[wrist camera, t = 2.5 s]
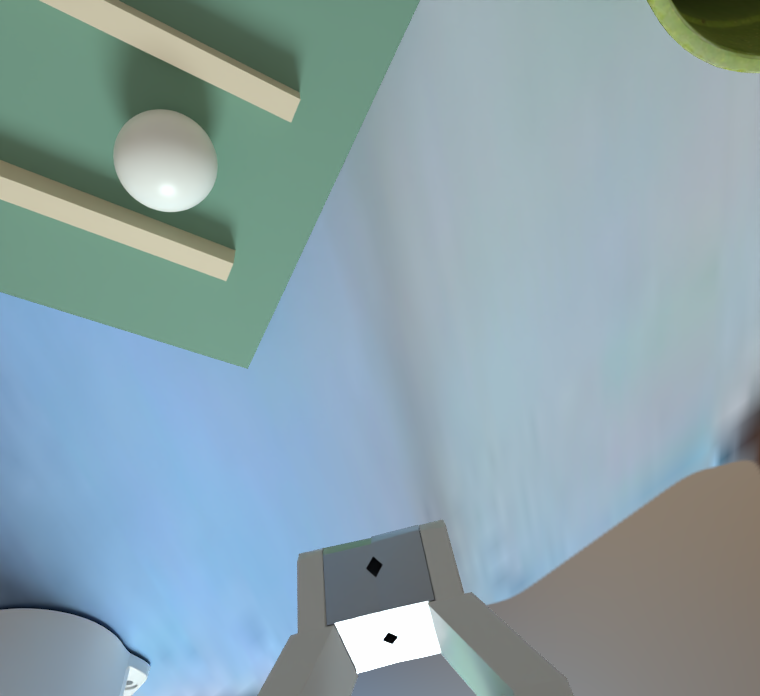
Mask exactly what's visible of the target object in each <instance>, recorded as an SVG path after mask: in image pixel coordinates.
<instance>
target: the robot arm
mask: <svg viewBox="0 0 760 696" xmlns="http://www.w3.org/2000/svg"><path fill="white" fill-rule="evenodd" d="M419 529H420V530H419ZM297 600H298V633H297V634H294V635H291V636H290V637H289V639H288V641H287V643H286V645H285V646H284V648H283V650H282V652H281V654H280V655H279V657H278V659H277V661H276V663H275V665H274V666H273V668H272V670H271V672H270V674H269V675H268V677H267V679H266V681H265V683H264V685H263V686H262V688H261V690H260V692H259V694H258V695H257V696H351V694H352V691H353V688H354V685H355V683H356V680H357V678H358V675H357V673H359V672H363V671H367V670H371V669H374V668H378V667H382V666H385V665H389V664H393V663H397V662H400V661H406V660H410V659H415V658H420V657H425V656H429V655H434V654H439V653H442V656H443V657H444V658H445V659H446V660H447V661H448V663H449V664H450V665H451V666H452V667H453V668H454V670H455V671H456V672H457V673H458V674H459V675H460V676H461V678H462V679H463V680H464V681H465V682H466V683H467V685H468V686H469V687H470V688H471V689H472V690H473V692H474V693H475V694H476V695H477V696H574V695H573V693H572V690H571V687H570V685H569V682H568V680H567V678H566V677H565V676H564V675H563V674H561V673H560V672H559V671H558V670H557V669H556V668H555V667H554V666H553V665H552V664H551V663H549V662H548V661H547V660H546V659H545V658H544V657H543V656H541V654H539V653H538V652H537V651H536V650H535V649H534V648H533V647H532V646H531V645H529V644H528V643H527V642H526V641H525V640H524V639H523V638H522V637H521V636H520V635H518V634H517V633H516V632H515V631H514V630H513V629H512V628H511V627H510V626H508V625H507V624H506V623H505V622H504V621H503V620H502V619H501V618H500V617H499V616H497V615H496V614H495V613H494V612H493V611H492V610H491V609H490V608H489V607H487V606H486V605H485V604H484V603H483V602H482V601H481V600H480V599H479V598H478V597H476V596H475V595H474V594H473V593H472V592H470V593H465V594H464V591H463V587H462V583H461V580H460V576H459V573H458V569H457V565H456V562H455V558H454V554H453V551H452V547H451V543H450V540H449V536H448V532H447V529H446V525H445V523H444V520H443V519H442V520H438V521H434V522H430V523H427V524H423V525H419V526H418V525H415V526H411V527H408V528H404V529H400V530H396V531H392V532H388V533H384V534H380V535H376V536H373V537H371V538H368V539H363V540H359V541H354V542H350V543H345V544H340V545H336V546H331V547H327V548H322V549H317V550H313V551H309V552H305V553H301V554H299V557H298V561H297ZM149 671H150V665H149V664H148V663H147V662H145V661H144V660H142V659H140V658H139V657H137V656H135V655H133V654H131V653H130V652H128V651H127V650H126V648H125V647H124V646H123V644H122V643H121V641H120V640H119V639H118V638H117V637H116V636H115V635H114V634H113V633H112V632H110V631H109V630H108V629H106V628H104V627H103V626H101V625H99V624H97V623H95V622H93V621H91V620H88V619H85V618H83V617H80V616H76V615H73V614H69V613H64V612H59V611H53V610H45V609H30V608H18V609H3V610H0V696H131V695H132V694H133V693H134V692H135V691H136V690H137V689H138V688H139V687H140V686H141V685H142V684H143V683H144V682H145V681H146V680H147V677H148V674H149Z"/></svg>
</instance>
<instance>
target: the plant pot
mask: <svg viewBox="0 0 760 696" xmlns="http://www.w3.org/2000/svg"><path fill="white" fill-rule="evenodd" d="M647 2H648V3H649V5H650V7H651V9H652V10H653V12H654V14H655V15H656V17H657V19H658V20H659V22H660V23H661V25H662V26H663V27H664V29H665V30H666V31H667V32H668V34H669V35H670V36H671V37H672V38H673V39H674V40H675V41H676V42H677V43H678V44H680V45H681V46H682V47H683V48H684V49H685V50H687V51H688V52H689V53H691V54H692V55H694V56H695V57H697V58H699V59H701V60H703V61H705V62H707V63H709V64H711V65H713V66H716V67H719V68H723V69H727V70H731V71H737V72H744V73H760V0H647Z"/></svg>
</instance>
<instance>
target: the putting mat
mask: <svg viewBox="0 0 760 696" xmlns="http://www.w3.org/2000/svg"><path fill="white" fill-rule="evenodd" d="M419 1H420V0H0V292H2V293H6V294H9V295H12V296H15V297H18V298H22V299H25V300H28V301H31V302H34V303H38V304H41V305H44V306H47V307H51V308H54V309H57V310H60V311H63V312H67V313H70V314H73V315H76V316H80V317H83V318H86V319H89V320H92V321H96V322H99V323H102V324H105V325H109V326H112V327H115V328H118V329H121V330H125V331H128V332H131V333H134V334H138V335H141V336H144V337H147V338H150V339H154V340H157V341H160V342H163V343H167V344H170V345H173V346H176V347H179V348H183V349H186V350H189V351H192V352H195V353H199V354H202V355H205V356H208V357H212V358H215V359H218V360H221V361H224V362H228V363H231V364H234V365H237V366H241V367H244V368H247V369H248V367H249V365H250V362H251V360H252V358H253V356H254V354H255V352H256V350H257V348H258V345H259V343H260V341H261V339H262V337H263V335H264V333H265V330H266V328H267V326H268V324H269V322H270V320H271V318H272V315H273V313H274V311H275V309H276V307H277V305H278V303H279V300H280V298H281V296H282V294H283V292H284V290H285V288H286V286H287V283H288V281H289V279H290V277H291V275H292V273H293V271H294V268H295V266H296V264H297V262H298V260H299V258H300V256H301V253H302V251H303V249H304V247H305V245H306V243H307V241H308V238H309V236H310V234H311V232H312V230H313V228H314V226H315V224H316V221H317V219H318V217H319V215H320V213H321V211H322V209H323V206H324V204H325V202H326V200H327V198H328V196H329V194H330V191H331V189H332V187H333V185H334V183H335V181H336V179H337V176H338V174H339V172H340V170H341V168H342V166H343V164H344V162H345V159H346V157H347V155H348V153H349V151H350V149H351V147H352V144H353V142H354V140H355V138H356V136H357V134H358V132H359V129H360V127H361V125H362V123H363V121H364V119H365V117H366V114H367V112H368V110H369V108H370V106H371V104H372V102H373V100H374V97H375V95H376V93H377V91H378V89H379V87H380V85H381V82H382V80H383V78H384V76H385V74H386V72H387V70H388V67H389V65H390V63H391V61H392V59H393V57H394V55H395V52H396V50H397V48H398V46H399V44H400V42H401V40H402V37H403V35H404V33H405V31H406V29H407V27H408V25H409V23H410V20H411V18H412V16H413V14H414V12H415V10H416V8H417V5H418V3H419ZM155 109H165V110H171V111H175V112H178V113H181V114H183V115H185V116H187V117H189V118H190V119H192V120H193V121H195V122H196V123H197V124H198V125H199V126H200V127H201V128H202V129H203V130H204V131H205V132H206V134H207V135H208V136H209V138H210V140H211V142H212V144H213V146H214V149H215V152H216V156H217V162H218V169H217V177H216V180H215V183H214V186H213V188H212V190H211V191H210V193H209V194H208V195H207V197H206V198H205V199H204V200H202V201H201V202H200V203H199V204H197V205H196V206H194V207H192V208H190V209H187V210H184V211H178V212H163V211H158V210H155V209H152V208H149V207H147V206H145V205H143V204H142V203H140V202H138V201H137V200H136V199H134V198H133V197H132V196H131V195H130V194H129V193H128V192H127V191H126V189H125V188H124V187H123V185H122V184H121V182H120V180H119V178H118V176H117V173H116V170H115V166H114V160H113V150H114V144H115V140H116V138H117V135H118V134H119V132H120V130H121V128H122V127H123V126H124V125H125V123H126V122H128V121H129V120H130V119H131V118H133V117H134V116H136V115H138V114H140V113H142V112H145V111H148V110H155Z"/></svg>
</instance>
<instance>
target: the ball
mask: <svg viewBox="0 0 760 696" xmlns="http://www.w3.org/2000/svg"><path fill="white" fill-rule="evenodd" d="M113 160H114V166H115V170H116V173H117V176H118V178H119V180H120V182H121V184H122V185H123V187H124V188H125V189H126V191H127V192H128V193H129V194H130V195H131V196H132V197H133V198H134V199H136V200H137V201H138V202H140V203H142V204H143V205H145V206H147V207H149V208H152V209H155V210H158V211H163V212H178V211H184V210H187V209H190V208H192V207H194V206H196V205H197V204H199V203H200V202H201V201H202V200H204V199H205V198H206V197H207V195H208V194H209V193H210V191H211V190H212V188H213V186H214V183H215V180H216V177H217V169H218V162H217V156H216V152H215V149H214V146H213V144H212V142H211V140H210V138H209V136H208V135H207V134H206V132H205V131H204V130H203V129H202V128H201V127H200V126H199V125H198V124H197V123H196V122H195V121H193V120H192V119H190V118H189V117H187V116H185V115H183V114H181V113H178V112H175V111H171V110H165V109H155V110H148V111H145V112H142V113H140V114H138V115H136V116H134V117H133V118H131V119H130V120H129V121H128V122H126V123H125V125H124V126H123V127H122V128H121V130H120V132H119V134H118V135H117V138H116V140H115V144H114V150H113Z"/></svg>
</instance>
